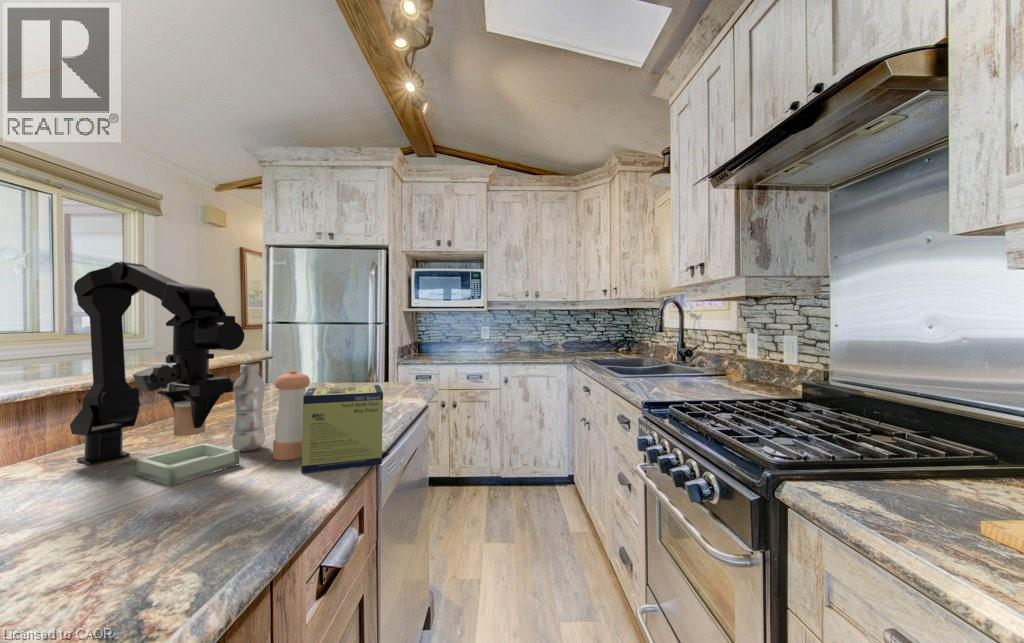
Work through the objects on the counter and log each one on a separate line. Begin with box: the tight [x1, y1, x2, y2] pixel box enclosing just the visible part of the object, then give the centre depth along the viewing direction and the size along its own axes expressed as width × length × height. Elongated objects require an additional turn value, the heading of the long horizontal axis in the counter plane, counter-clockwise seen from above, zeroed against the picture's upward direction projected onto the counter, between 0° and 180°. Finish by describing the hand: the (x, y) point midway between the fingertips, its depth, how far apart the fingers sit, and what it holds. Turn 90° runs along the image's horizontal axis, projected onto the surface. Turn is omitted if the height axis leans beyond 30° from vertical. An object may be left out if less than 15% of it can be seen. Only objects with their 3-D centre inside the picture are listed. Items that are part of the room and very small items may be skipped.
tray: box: [135, 442, 240, 487], centre depth 80 cm, size 12×12×3 cm
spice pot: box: [173, 400, 207, 437], centre depth 80 cm, size 5×5×6 cm
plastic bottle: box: [231, 363, 266, 452], centre depth 92 cm, size 6×7×20 cm
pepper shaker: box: [272, 369, 311, 461], centre depth 89 cm, size 7×7×19 cm
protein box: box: [300, 384, 384, 474], centre depth 86 cm, size 10×16×16 cm
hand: (189, 426), depth 80 cm, fingers closed on spice pot, 5 cm apart
